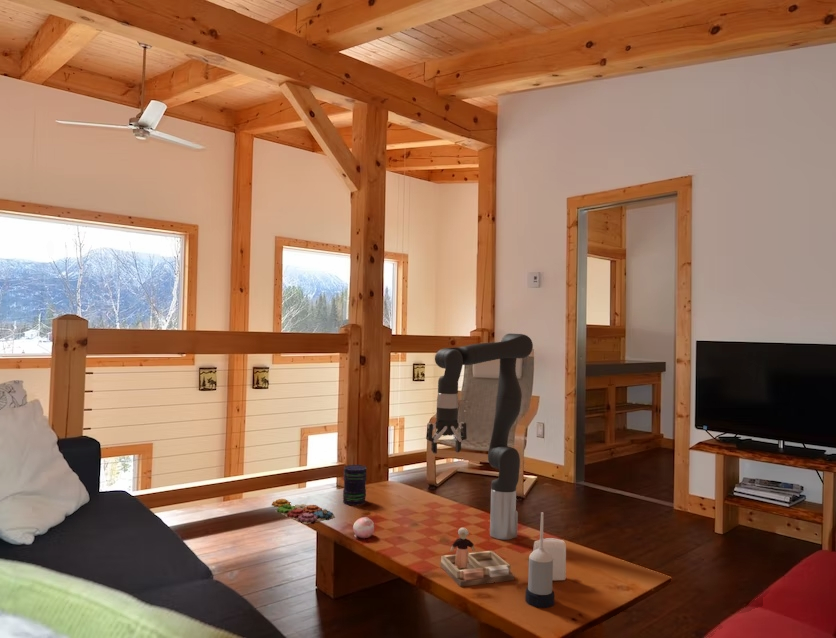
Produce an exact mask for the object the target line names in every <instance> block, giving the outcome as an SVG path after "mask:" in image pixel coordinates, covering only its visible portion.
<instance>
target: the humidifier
mask: <svg viewBox="0 0 836 638" xmlns="http://www.w3.org/2000/svg"><path fill="white" fill-rule="evenodd" d="M539 525H540V527H539V528H540V530H539V540H540V547H539V548H538V549H536V550H534V551H532V552H531V553H529V557H528V578H527V579H528V580H527V581H528V582H527V583H528V585H527V587H526V588H525V597H524V598H525V602H526V604H527V605H528V606H531V607H535V608H537V609H539V608H541V609H548V608H551V607H553V606H554V605H555V591H554V590H553V580H552V579H553V558H552V556H551V555H550V553H549V552H548V551H546V550H544V548H543V539H544V512H540V524H539Z"/></svg>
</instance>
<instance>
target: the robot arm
mask: <svg viewBox="0 0 836 638" xmlns="http://www.w3.org/2000/svg"><path fill="white" fill-rule="evenodd" d="M501 338H502V339H501V341H497V342H496V341H495V342H482V343H474V344H468V345H465V346H464V345H463V346H454V347H444V348H441V349H439V350H438V351H436V353H435V355H434V362H435V364H436V366H438V367H439V368H441V369H445V370H444V374H443V375H441V376H440V377H439V378H438V381H437V397H436V414H435V415H436V418H435V419H436V421H435V423H431V422H428V423H427V424H426V425H427V426H426V437H425V439H426V440H427V441H428V442H431V448H430V449H431V450H430V451H431V452H432V453H433V454H434V455H435V454H437V453H438V443H437V442H438V441H439V439H440V438H441V437H442V436H443V437H446V436H453V437H454V439H455V447H454V448H455V449H454V450H455V452H456V453H460V451H461V450H462V442H463V441H466V440H467V438H468V437H467V423H466V422H464V421H460V422H459V421H458V419H459V380H460V376H461V374H462V369H463V366H471V365H472V366H473V365H476V364H481V363H486V362H491V361H495V360H499V373H498V383H497V384H498V386H497V394H496V398H495V399H496V400H495V413H494V420H493V426H492V434H491V438H490V443H489V447H488V452H487V460H488V464H489V465H490V466H491V467H492V468H493V469H496V470H498V478H495V479H493V480H491V483H490V513H489V514H490V517H489V519H490V522H489V535H490V537H491V538H494V539H497V540H512V539H514V538H518V517H519V516H518V515H519V513H518V511H517V510H516V506H517V485H518V484H519V480H520V469H521V458H520V453H519V452H518V449H516V448H514V447H512V446H508V440H509V436H510V435H509V434H510V431H511V429H512V427H513V426H514V424H515V422H516V421H517V418H518V417H519V415H520V412H521V406H522V397H523V396H522V390H521V386H520V382H519V379H518V376H517V372H516V369H517V367H516V366H517V359H525V358H527V357H529V356H530V354H532V351H533V348H534V344H533V341H532V339H531V338H530V336H528V335H527V334H522V333H506V334H505V335H504V336H503V337H501ZM458 428H459V429H460V433H459V432H458V431H457V429H458ZM434 429H436V430H435V432H434V434H433V431H434Z"/></svg>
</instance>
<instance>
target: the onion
mask: <svg viewBox="0 0 836 638" xmlns="http://www.w3.org/2000/svg"><path fill="white" fill-rule="evenodd" d="M352 530H353V532H354V535H353V536H354V537H355V538H356V539H357V540H358V539H359V538H360V539H365V538H366V539H368V538H372V535H373V533H374V531H375V523H374V521H373V520H372V519H371V518H369V517H367V516H363V517H360V518H358V519H356V521H354V524H353V527H352Z"/></svg>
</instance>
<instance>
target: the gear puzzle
mask: <svg viewBox="0 0 836 638" xmlns="http://www.w3.org/2000/svg"><path fill="white" fill-rule="evenodd" d="M290 503H291V504H292V502H291V501H289V500H287V499H285V498H278V499H276V500H275V501H274V500H273V501H272V503H271V506H273V507H274V508H276V509H275V511H274V512H275V513H277V514H279V513H280V515H281V516H285V517H286V518H290V519H291V520H293V521H296V522H298V523H300V522H301V524H302V525H305V526H306V525H310V524H311V525H312V523H313V522H314V523H318V522H320V521H321V522H322V521H326V519H335V514H334V513H333V512H331V510H328V509H326V508H324V509H323V508H322V507H320V506H318V505H316V504H309V505H308V504H304V503H303V504H294V505H295V506H293V505H291V504H290Z"/></svg>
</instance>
